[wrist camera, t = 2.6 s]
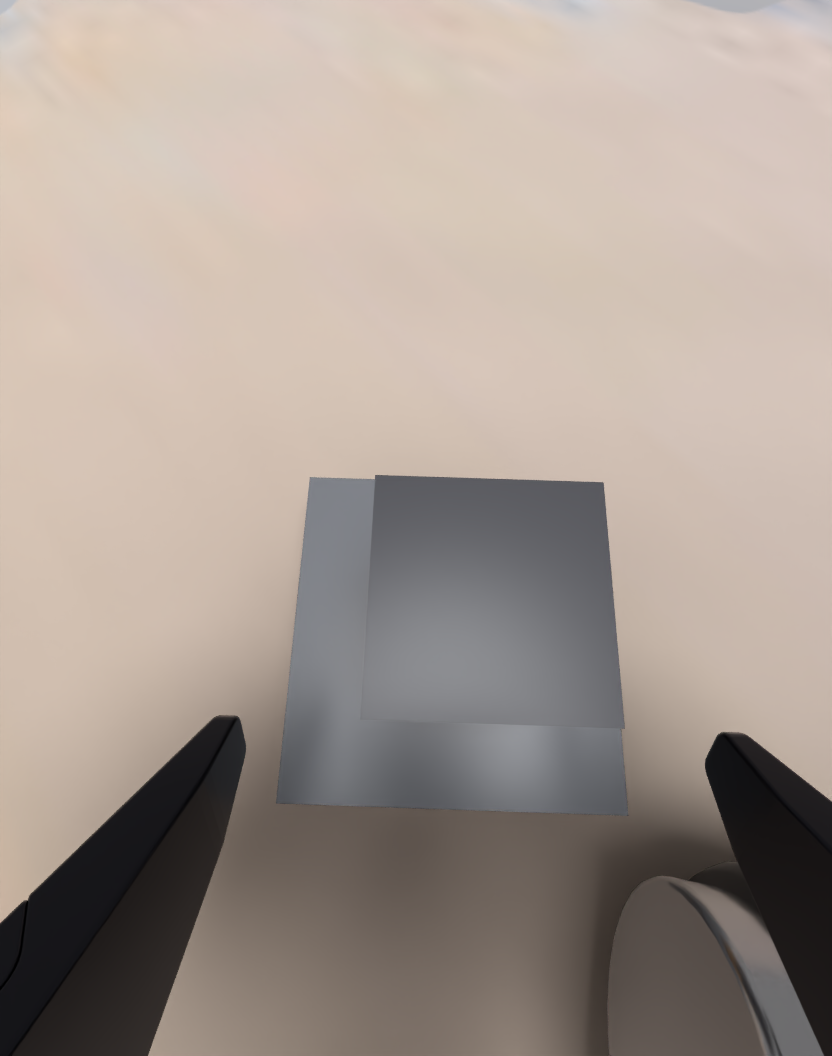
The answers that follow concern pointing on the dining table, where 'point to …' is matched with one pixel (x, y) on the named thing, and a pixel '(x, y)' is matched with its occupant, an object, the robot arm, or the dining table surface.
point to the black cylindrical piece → (700, 974)
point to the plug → (491, 604)
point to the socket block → (409, 746)
